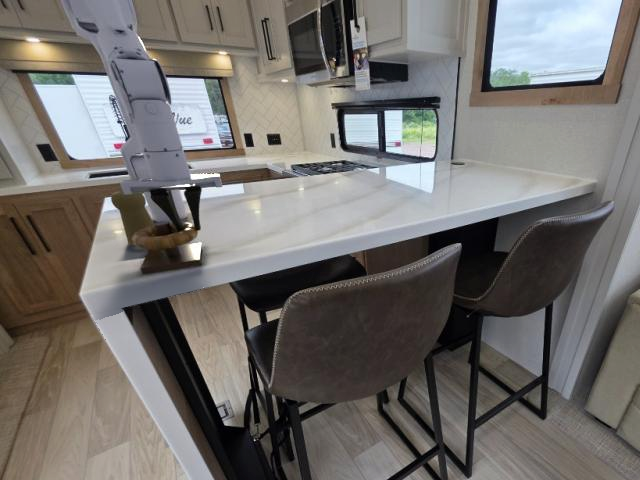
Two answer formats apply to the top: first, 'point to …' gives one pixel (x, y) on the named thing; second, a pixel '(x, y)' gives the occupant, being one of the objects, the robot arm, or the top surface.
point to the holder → (171, 254)
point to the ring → (164, 237)
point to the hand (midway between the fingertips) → (189, 230)
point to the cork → (132, 212)
